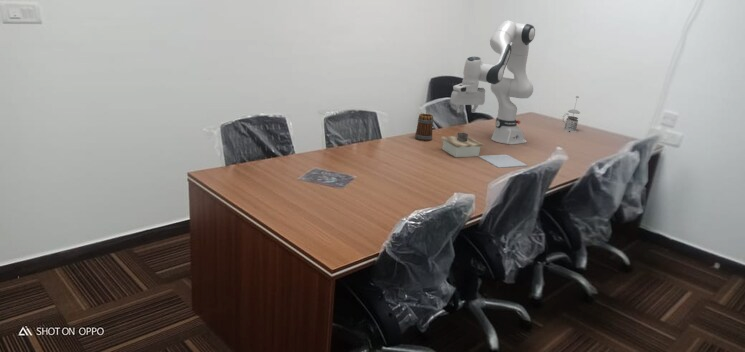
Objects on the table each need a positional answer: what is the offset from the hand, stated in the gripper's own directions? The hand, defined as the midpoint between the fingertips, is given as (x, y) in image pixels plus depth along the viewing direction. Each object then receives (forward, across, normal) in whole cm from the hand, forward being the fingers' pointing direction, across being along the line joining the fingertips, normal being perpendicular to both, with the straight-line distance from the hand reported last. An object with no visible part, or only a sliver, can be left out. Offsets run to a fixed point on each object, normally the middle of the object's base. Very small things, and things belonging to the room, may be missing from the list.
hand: (465, 112), depth 276 cm
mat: (+23, -16, +18) cm, 33 cm away
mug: (+24, +7, -31) cm, 40 cm away
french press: (+23, -113, -36) cm, 121 cm away
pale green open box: (+23, 0, 0) cm, 23 cm away
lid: (+17, 0, 0) cm, 17 cm away
